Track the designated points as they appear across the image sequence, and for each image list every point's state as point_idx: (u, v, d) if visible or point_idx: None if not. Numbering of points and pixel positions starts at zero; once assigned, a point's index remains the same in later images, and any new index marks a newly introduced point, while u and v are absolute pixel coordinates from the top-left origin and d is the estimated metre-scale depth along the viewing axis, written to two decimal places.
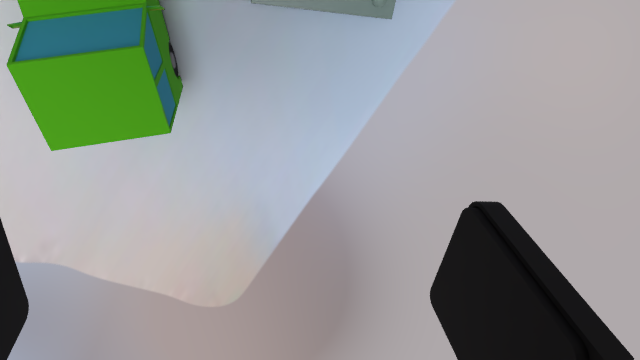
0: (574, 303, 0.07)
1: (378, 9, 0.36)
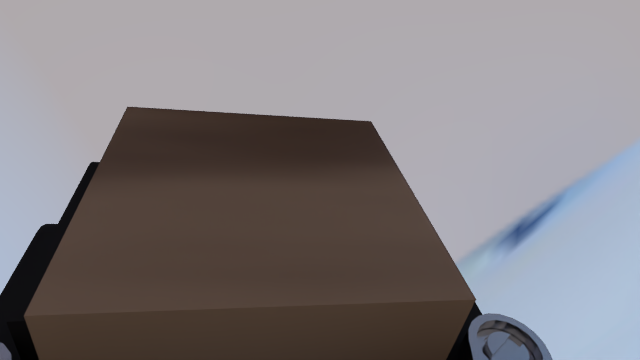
0: None
1: None
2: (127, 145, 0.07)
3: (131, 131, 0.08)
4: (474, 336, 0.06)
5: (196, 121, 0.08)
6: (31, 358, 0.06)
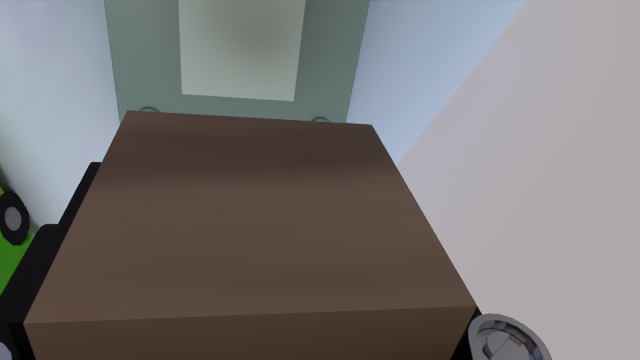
0: None
1: None
2: (126, 150, 0.07)
3: (131, 135, 0.07)
4: (474, 336, 0.06)
5: (196, 123, 0.08)
6: (31, 358, 0.06)
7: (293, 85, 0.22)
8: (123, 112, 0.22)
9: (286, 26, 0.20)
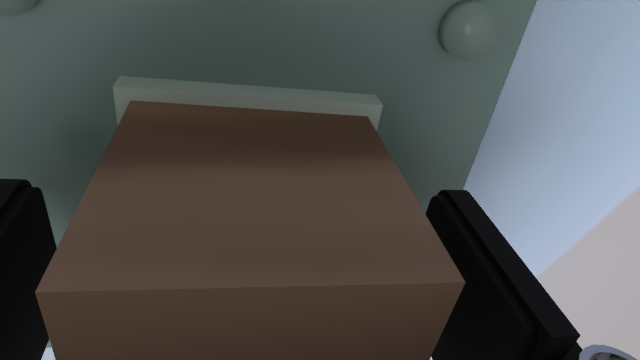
0: (528, 284, 0.07)
1: None
2: (130, 137, 0.07)
3: (134, 124, 0.08)
4: None
5: (197, 114, 0.08)
6: None
7: None
8: None
9: None
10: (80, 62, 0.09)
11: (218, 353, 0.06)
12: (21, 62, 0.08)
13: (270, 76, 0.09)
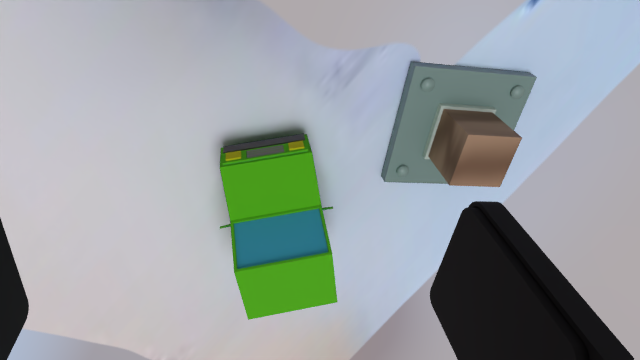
0: (574, 303, 0.07)
1: None
2: (453, 116, 0.37)
3: (450, 113, 0.38)
4: None
5: (459, 111, 0.39)
6: None
7: None
8: (390, 167, 0.42)
9: None
10: (432, 100, 0.39)
11: (483, 148, 0.36)
12: (421, 100, 0.38)
13: (470, 102, 0.39)
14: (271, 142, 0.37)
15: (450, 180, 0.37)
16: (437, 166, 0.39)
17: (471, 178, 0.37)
